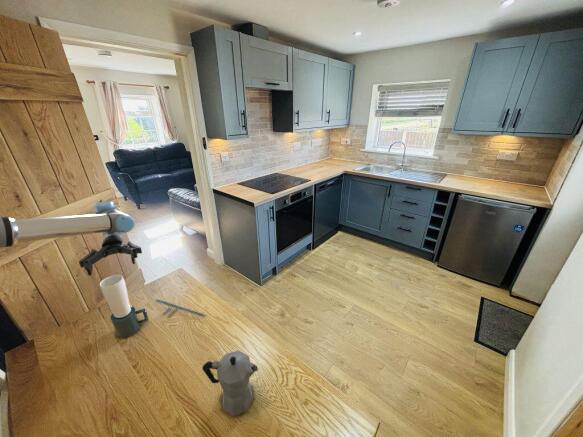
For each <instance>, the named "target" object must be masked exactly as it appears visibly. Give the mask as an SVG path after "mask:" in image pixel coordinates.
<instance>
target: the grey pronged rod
mask: <svg viewBox="0 0 583 437" xmlns="http://www.w3.org/2000/svg"><path fill="white" fill-rule="evenodd" d="M156 301H158V302H160V303H163V304H167V305H170V306H171V307H176V308H178V309H182V310H186V311H188V312H191V313H195V314H198V315H200V316H204V314H203V313H199V312H197V311H194V310H190V309H187V308H185V307H182V306H178V305H175V304H172V303H170V302H166V301H164V300H163V301H162V300H160V299H156ZM171 307H169V308H167V309H166V310H165V311H163V313H162V314H163V315H165V314H166V313H167V312H168V311H169V310H171ZM171 316H172V314H171V315H169V318H170V317H171Z"/></svg>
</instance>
